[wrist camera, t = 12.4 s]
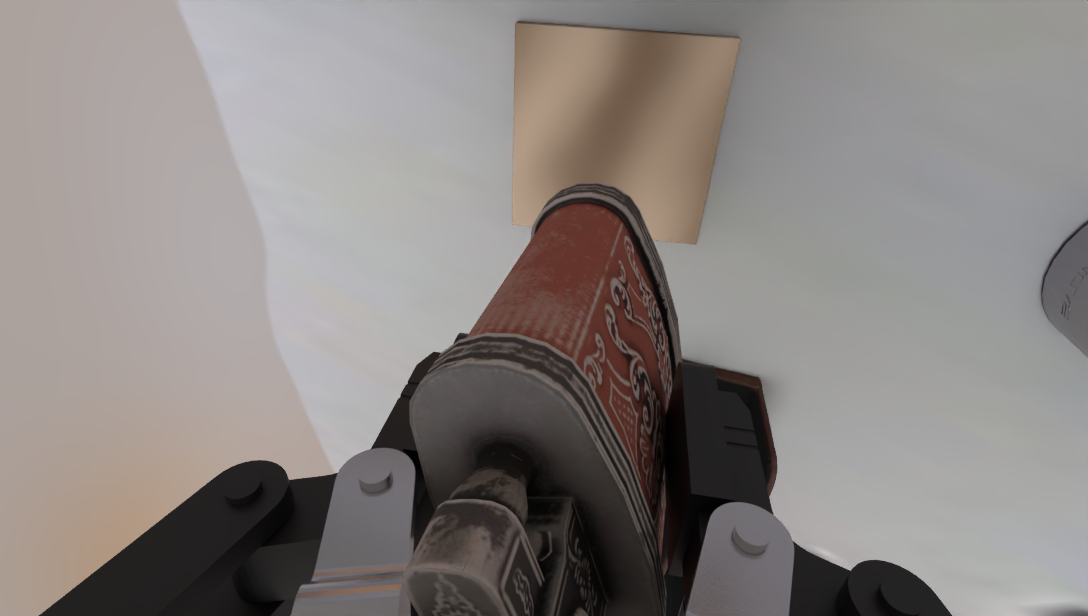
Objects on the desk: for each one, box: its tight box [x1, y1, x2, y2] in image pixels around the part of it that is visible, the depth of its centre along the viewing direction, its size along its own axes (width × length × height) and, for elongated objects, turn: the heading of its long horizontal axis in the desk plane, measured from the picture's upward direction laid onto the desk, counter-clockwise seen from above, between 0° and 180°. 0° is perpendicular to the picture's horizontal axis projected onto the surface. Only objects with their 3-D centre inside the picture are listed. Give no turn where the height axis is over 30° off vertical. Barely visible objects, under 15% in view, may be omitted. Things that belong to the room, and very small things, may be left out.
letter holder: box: [661, 361, 777, 616], centre depth 35 cm, size 10×20×14 cm, turn 170°
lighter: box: [402, 182, 682, 616], centre depth 11 cm, size 8×3×10 cm, turn 17°
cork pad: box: [512, 22, 740, 244], centre depth 28 cm, size 10×10×1 cm
